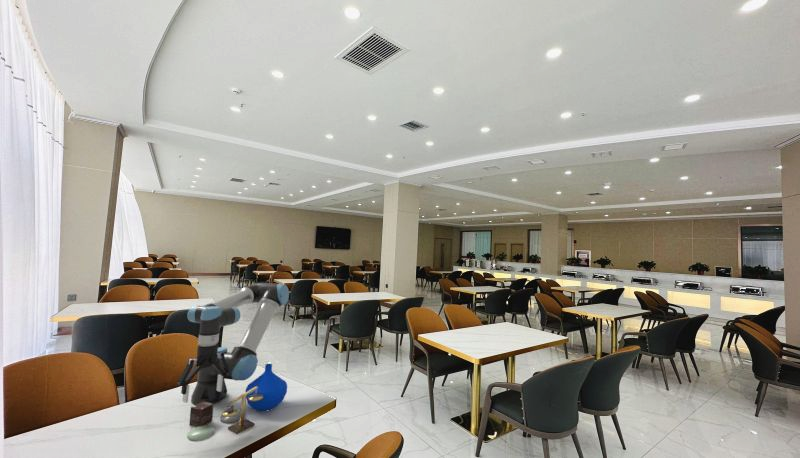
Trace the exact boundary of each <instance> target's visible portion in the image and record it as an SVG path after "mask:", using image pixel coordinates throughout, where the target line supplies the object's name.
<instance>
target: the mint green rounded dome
mask: <svg viewBox="0 0 800 458" xmlns="http://www.w3.org/2000/svg"><path fill="white" fill-rule="evenodd" d="M214 432H215V427H214V426H212V425H208V424H206V425H203V426H198V427H195V426H194V427H193V428H191V429H190V430H189V431H188V432H187V435H186V438H187V439H188V440H189V441H202V440H205V439H208V438H209V437H211V436H213V434H214Z"/></svg>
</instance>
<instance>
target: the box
mask: <svg viewBox="0 0 800 458" xmlns="http://www.w3.org/2000/svg"><path fill="white" fill-rule="evenodd" d="M214 404H215V403H214ZM214 404H212V403H208V402H204V401H203V402H201V403H199V404H194V405H192V406H191V407H190V413H189V424H188V425H189V426H192V427H194V428H195V427H198V426H203V425H208V424H210V423H211V422H213V415H214Z"/></svg>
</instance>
